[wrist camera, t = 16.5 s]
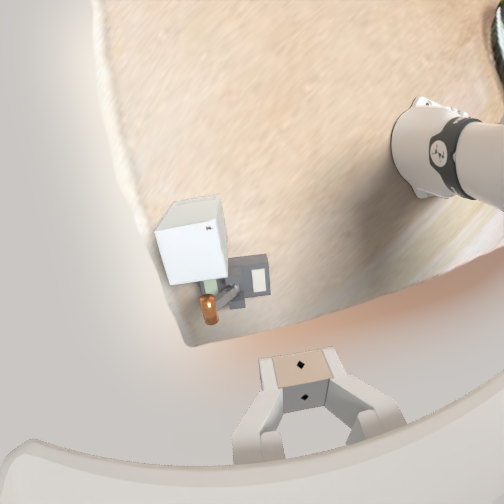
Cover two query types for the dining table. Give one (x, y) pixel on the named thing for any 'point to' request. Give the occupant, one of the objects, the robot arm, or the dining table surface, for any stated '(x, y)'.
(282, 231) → the dining table surface
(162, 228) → the supplement box
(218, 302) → the breaker lever
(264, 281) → the breaker housing
